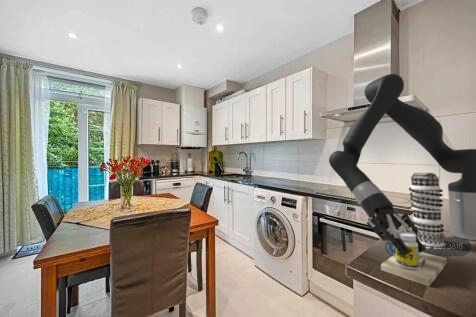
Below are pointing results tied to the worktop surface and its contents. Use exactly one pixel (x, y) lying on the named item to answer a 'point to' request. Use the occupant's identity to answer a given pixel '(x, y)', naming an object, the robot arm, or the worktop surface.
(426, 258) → the board
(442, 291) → the worktop surface
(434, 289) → the worktop surface
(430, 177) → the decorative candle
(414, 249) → the supplement bottle
